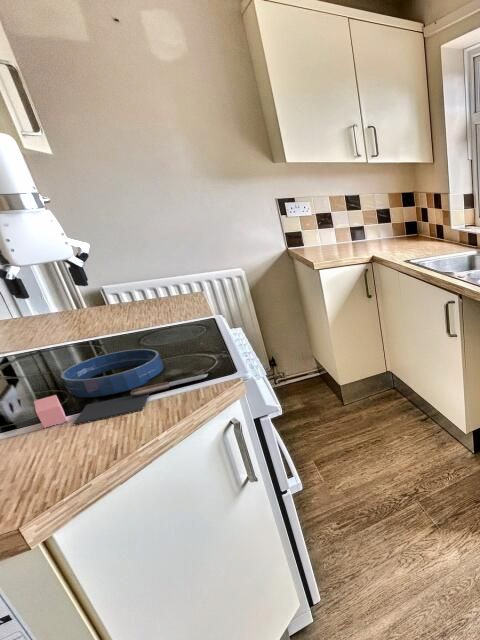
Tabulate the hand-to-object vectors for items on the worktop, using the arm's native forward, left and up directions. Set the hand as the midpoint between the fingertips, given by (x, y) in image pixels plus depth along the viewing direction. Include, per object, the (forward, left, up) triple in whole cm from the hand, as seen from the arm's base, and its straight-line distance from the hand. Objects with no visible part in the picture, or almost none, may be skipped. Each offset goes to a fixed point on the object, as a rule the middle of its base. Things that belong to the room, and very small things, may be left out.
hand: (53, 291), depth 86 cm
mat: (+7, -18, -21) cm, 28 cm away
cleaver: (+16, -13, -21) cm, 29 cm away
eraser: (-2, -17, -21) cm, 27 cm away
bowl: (+5, -4, -21) cm, 22 cm away
